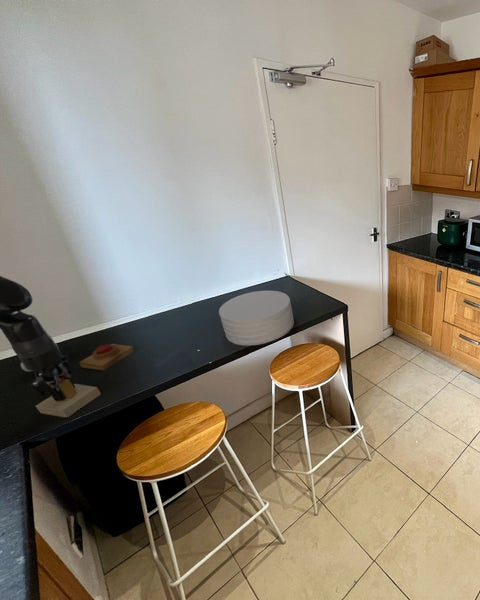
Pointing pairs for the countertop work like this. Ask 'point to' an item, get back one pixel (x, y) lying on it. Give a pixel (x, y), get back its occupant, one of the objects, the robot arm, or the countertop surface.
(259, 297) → the plate stack
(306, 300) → the countertop surface
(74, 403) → the panel
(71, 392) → the lock knob
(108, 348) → the button
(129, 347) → the button block
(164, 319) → the countertop surface
